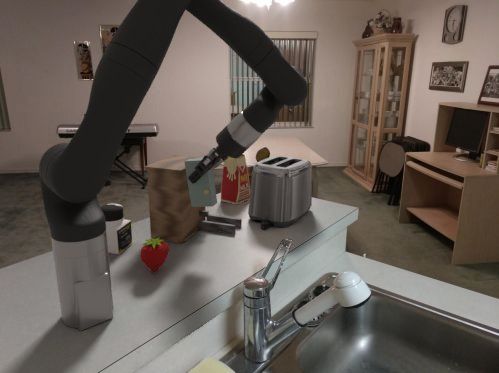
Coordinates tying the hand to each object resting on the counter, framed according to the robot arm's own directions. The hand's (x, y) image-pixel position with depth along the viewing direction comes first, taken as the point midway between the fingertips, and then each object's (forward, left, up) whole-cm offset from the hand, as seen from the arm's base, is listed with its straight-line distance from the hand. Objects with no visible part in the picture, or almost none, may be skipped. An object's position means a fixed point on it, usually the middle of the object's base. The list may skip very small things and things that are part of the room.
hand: (194, 178), depth 96 cm
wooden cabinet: (+9, -7, -20) cm, 23 cm away
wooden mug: (+27, -49, -20) cm, 59 cm away
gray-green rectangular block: (-2, -1, -7) cm, 7 cm away
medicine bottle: (+15, +16, -20) cm, 30 cm away
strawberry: (-4, +14, -20) cm, 25 cm away
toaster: (+3, -37, -20) cm, 42 cm away
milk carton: (+26, -36, -20) cm, 48 cm away
